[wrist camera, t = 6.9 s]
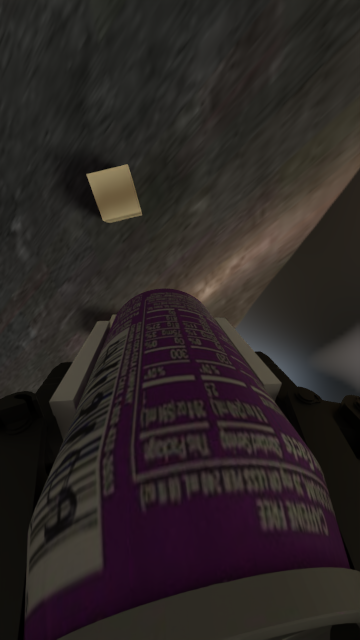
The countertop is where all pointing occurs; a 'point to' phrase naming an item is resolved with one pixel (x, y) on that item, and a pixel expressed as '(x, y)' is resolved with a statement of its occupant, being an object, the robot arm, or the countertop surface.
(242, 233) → the countertop surface
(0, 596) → the robot arm
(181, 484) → the beverage can
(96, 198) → the beech cube
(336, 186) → the countertop surface
